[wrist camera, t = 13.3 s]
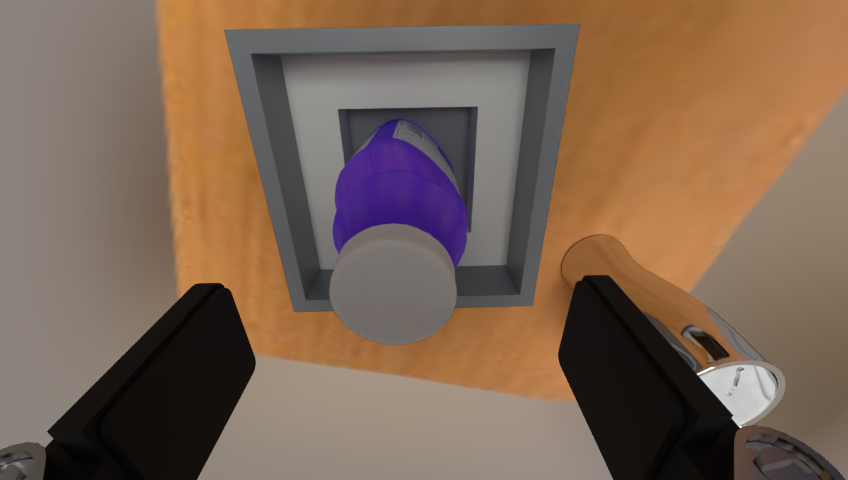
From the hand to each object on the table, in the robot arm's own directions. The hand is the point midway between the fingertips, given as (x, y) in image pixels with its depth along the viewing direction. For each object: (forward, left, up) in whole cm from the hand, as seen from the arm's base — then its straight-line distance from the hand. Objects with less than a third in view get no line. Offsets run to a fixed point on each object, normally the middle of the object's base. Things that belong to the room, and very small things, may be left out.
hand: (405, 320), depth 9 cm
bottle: (0, 0, -19) cm, 19 cm away
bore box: (0, 0, -20) cm, 20 cm away
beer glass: (+10, +17, -20) cm, 28 cm away
